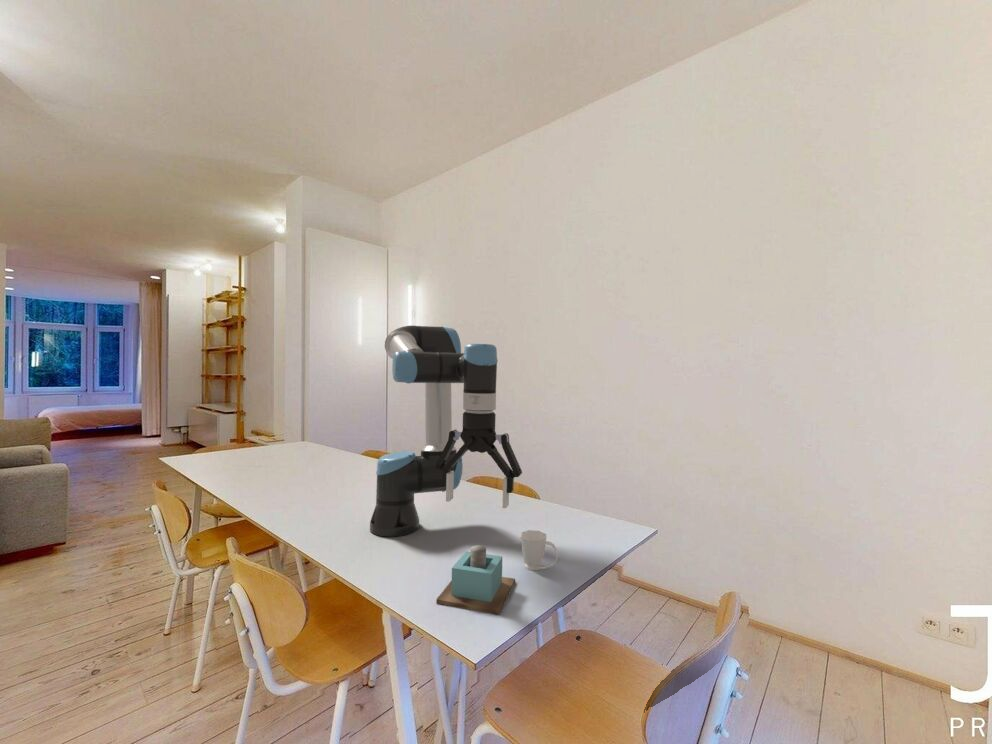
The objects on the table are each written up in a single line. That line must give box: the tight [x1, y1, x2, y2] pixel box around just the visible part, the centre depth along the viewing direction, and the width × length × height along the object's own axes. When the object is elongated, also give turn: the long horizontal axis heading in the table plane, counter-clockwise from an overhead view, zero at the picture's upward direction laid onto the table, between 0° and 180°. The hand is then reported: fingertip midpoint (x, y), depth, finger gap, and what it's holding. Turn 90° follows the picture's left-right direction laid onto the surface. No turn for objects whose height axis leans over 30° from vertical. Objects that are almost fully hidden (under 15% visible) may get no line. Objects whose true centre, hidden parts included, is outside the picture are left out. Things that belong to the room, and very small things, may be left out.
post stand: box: [435, 544, 516, 615], centre depth 95 cm, size 14×14×10 cm
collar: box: [451, 550, 503, 602], centre depth 95 cm, size 9×9×6 cm
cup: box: [520, 530, 559, 571], centre depth 108 cm, size 7×10×8 cm
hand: (477, 503), depth 98 cm, fingers open, 13 cm apart
